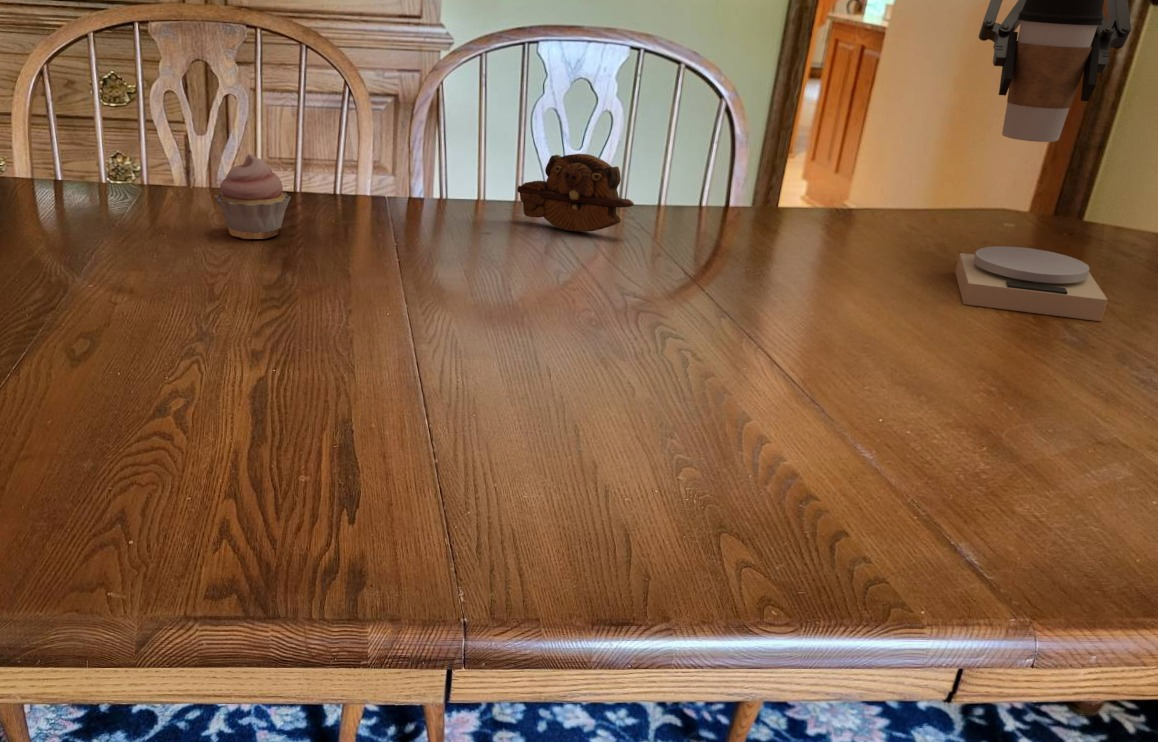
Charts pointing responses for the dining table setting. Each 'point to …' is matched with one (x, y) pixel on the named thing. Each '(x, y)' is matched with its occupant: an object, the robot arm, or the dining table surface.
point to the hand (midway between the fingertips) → (1046, 89)
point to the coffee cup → (1049, 65)
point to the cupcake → (252, 197)
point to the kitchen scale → (1029, 282)
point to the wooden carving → (575, 193)
